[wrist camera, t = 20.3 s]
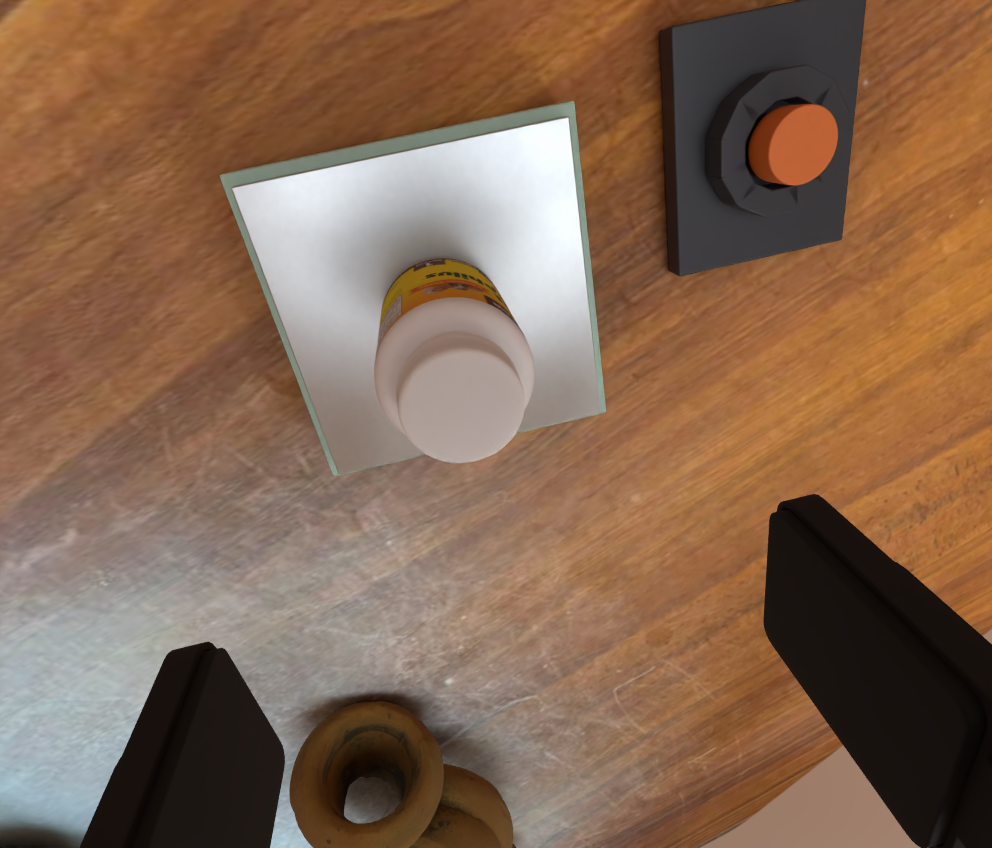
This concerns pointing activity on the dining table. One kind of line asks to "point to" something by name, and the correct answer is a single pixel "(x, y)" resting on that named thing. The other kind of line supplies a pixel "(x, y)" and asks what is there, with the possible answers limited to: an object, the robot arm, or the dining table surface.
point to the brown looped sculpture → (392, 785)
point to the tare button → (793, 144)
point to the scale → (420, 236)
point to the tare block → (735, 114)
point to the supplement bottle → (451, 361)
